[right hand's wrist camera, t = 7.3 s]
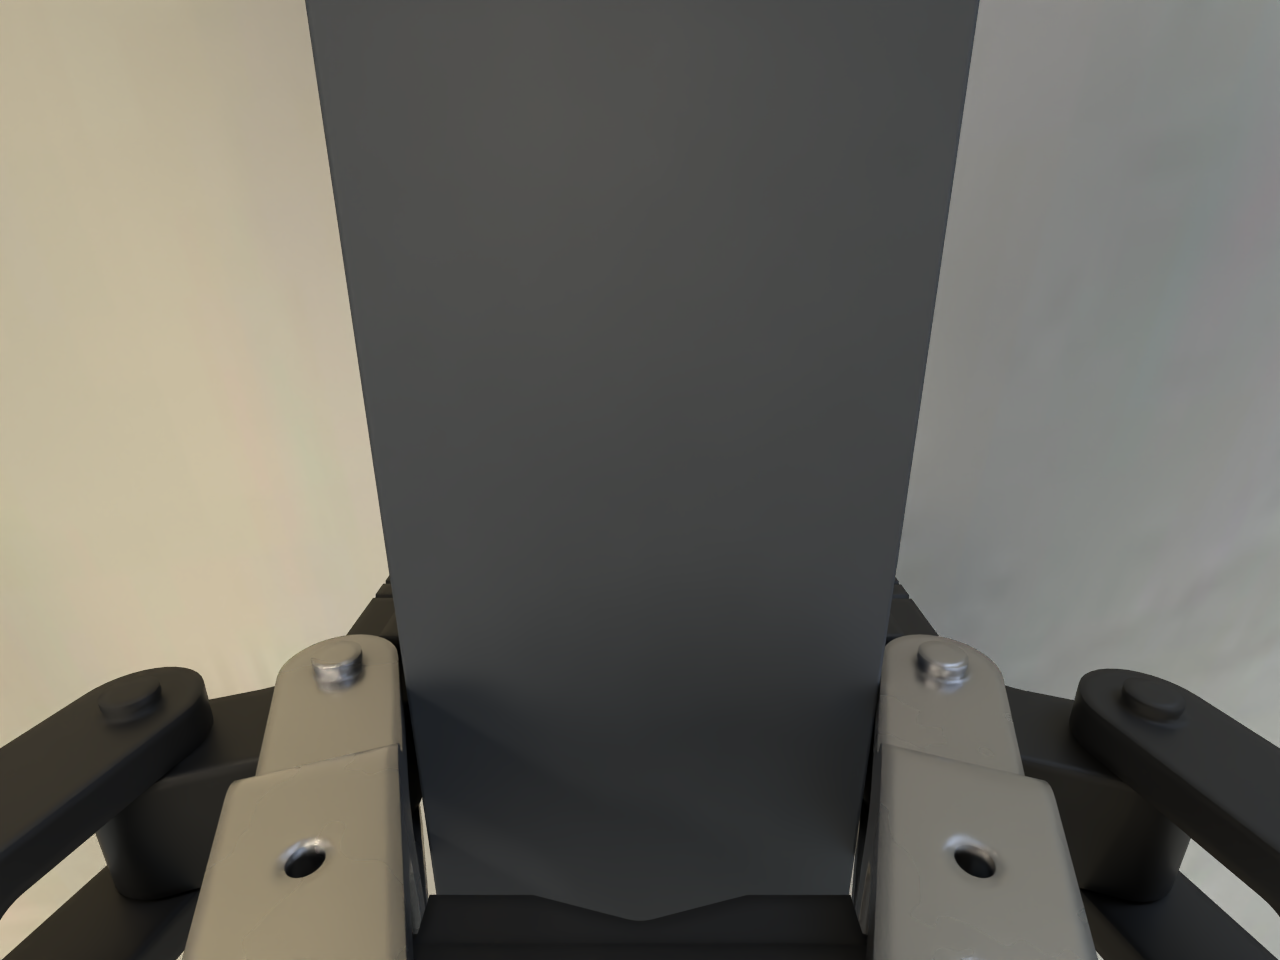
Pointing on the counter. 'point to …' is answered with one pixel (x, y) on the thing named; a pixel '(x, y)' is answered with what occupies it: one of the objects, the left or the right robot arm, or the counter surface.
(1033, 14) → the counter surface
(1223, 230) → the counter surface
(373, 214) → the bar
